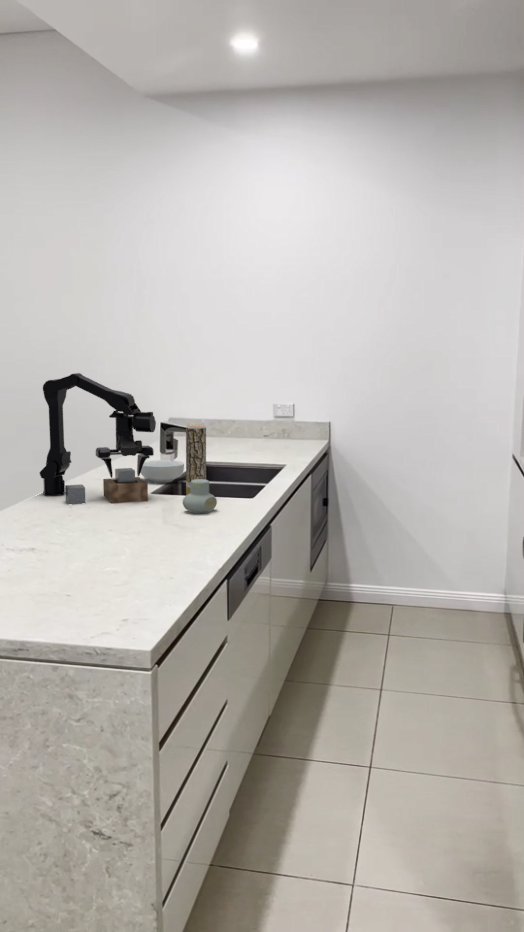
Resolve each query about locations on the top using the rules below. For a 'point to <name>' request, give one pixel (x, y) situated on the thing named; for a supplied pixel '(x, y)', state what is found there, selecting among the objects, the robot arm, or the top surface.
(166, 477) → the cereal bowl
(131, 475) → the grey rectangular block
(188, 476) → the bark textured wooden post
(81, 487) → the gray cube
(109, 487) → the brown wooden open box
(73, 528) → the top surface
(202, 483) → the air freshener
